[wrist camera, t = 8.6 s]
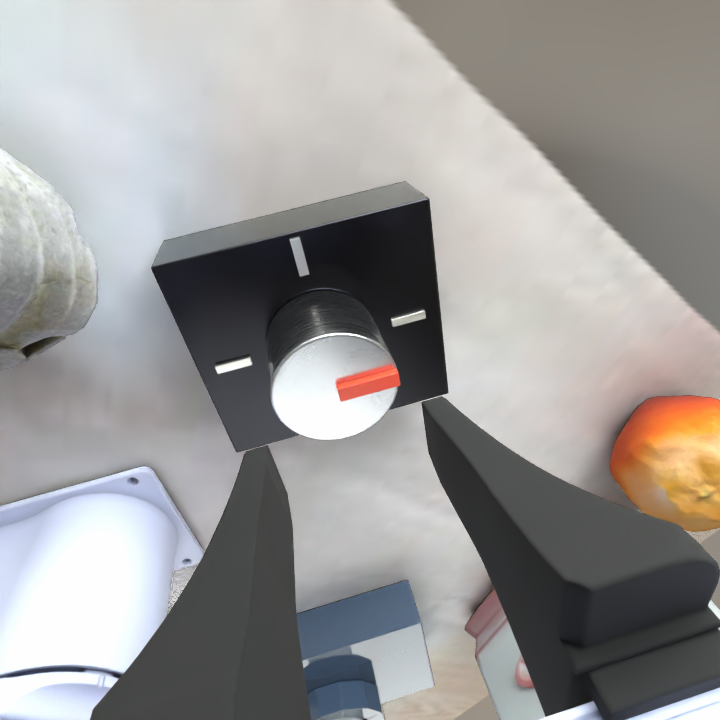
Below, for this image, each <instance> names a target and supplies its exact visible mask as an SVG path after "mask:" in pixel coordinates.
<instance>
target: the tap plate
mask: <svg viewBox="0 0 720 720" xmlns="http://www.w3.org/2000/svg"><path fill="white" fill-rule="evenodd" d="M151 270H152V272H153V274H154V276H155V278H156V280H157V283H158V285H159V287H160V289H161V291H162V293H163V295H164V298H165V300H166V302H167V304H168V306H169V308H170V311H171V313H172V315H173V317H174V319H175V321H176V323H177V326H178V328H179V330H180V332H181V334H182V336H183V339H184V341H185V343H186V345H187V347H188V349H189V351H190V354H191V356H192V358H193V360H194V362H195V364H196V367H197V369H198V371H199V373H200V375H201V377H202V379H203V382H204V384H205V386H206V388H207V390H208V392H209V395H210V397H211V399H212V401H213V403H214V405H215V408H216V410H217V412H218V414H219V416H220V418H221V420H222V423H223V425H224V427H225V429H226V431H227V433H228V436H229V438H230V440H231V442H232V444H233V446H234V448H235V451H236V452H241V451H244V450H248V449H251V448H255V447H259V446H262V445H266V444H269V443H273V442H276V441H280V440H283V439H287V438H291V437H294V436H298V435H300V434H297V433H296V432H294V431H292V430H291V429H289V428H288V427H287V426H286V425H284V423H283V422H282V421H281V420H280V419H279V418H278V416H277V415H276V413H275V411H274V409H273V407H272V403H271V398H270V387H269V374H268V361H267V347H266V338H267V332H268V329H269V326H270V324H271V322H272V320H273V318H274V317H275V315H276V314H277V313H278V311H279V310H280V309H281V308H282V307H283V306H285V305H286V304H287V303H288V302H290V301H291V300H293V299H295V298H296V297H299V296H301V295H303V294H306V293H310V292H315V291H335V292H340V293H343V294H347V295H349V296H351V297H353V298H354V299H356V300H358V301H359V302H360V303H361V304H362V305H364V306H365V308H366V309H367V310H368V311H369V313H370V314H371V316H372V318H373V320H374V322H375V324H376V326H377V328H378V330H379V332H380V334H381V336H382V338H383V340H384V342H385V344H386V346H387V348H388V350H389V352H390V354H391V356H392V358H393V360H394V362H395V364H396V367H397V371H398V373H399V379H400V386H398V389H397V393H396V396H395V399H394V401H393V403H392V405H391V407H390V408H389V410H390V409H394V408H397V407H401V406H404V405H408V404H411V403H415V402H419V401H422V400H426V399H429V398H433V397H436V396H440V395H443V394H447V393H448V383H447V373H446V363H445V353H444V343H443V332H442V322H441V312H440V302H439V292H438V282H437V272H436V262H435V251H434V241H433V231H432V221H431V211H430V201H429V198H428V197H426V196H425V195H424V194H422V193H421V192H420V191H418V190H417V189H415V188H414V187H413V186H411V185H410V184H409V183H407V182H406V181H404V182H400V183H396V184H392V185H388V186H384V187H380V188H375V189H371V190H367V191H363V192H359V193H355V194H351V195H347V196H343V197H339V198H335V199H331V200H327V201H323V202H319V203H315V204H310V205H306V206H302V207H298V208H294V209H290V210H286V211H282V212H278V213H274V214H270V215H266V216H262V217H258V218H254V219H250V220H246V221H241V222H237V223H233V224H229V225H225V226H221V227H217V228H213V229H209V230H205V231H201V232H197V233H193V234H189V235H185V236H181V237H177V238H172V239H168V240H164V241H163V243H162V245H161V247H160V249H159V252H158V254H157V256H156V258H155V260H154V262H153V265H152V267H151Z"/></svg>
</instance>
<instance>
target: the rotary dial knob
mask: <svg viewBox="0 0 720 720" xmlns="http://www.w3.org/2000/svg"><path fill="white" fill-rule="evenodd" d="M266 347H267V361H268V374H269V387H270V398H271V403H272V407H273V409H274V411H275V413H276V415H277V416H278V418H279V419H280V420H281V421H282V422H283V423H284V425H286V426H287V427H288V428H289V429H291V430H292V431H294V432H296V433H297V434H300V435H302V436H305V437H308V438H312V439H317V440H337V439H343V438H347V437H351V436H354V435H356V434H359V433H361V432H363V431H365V430H367V429H368V428H370V427H371V426H373V425H374V424H376V423H377V422H378V421H379V420H380V419H381V418H382V417H383V416H384V415H385V414H386V413H387V411H388V410H389V408H390V407H391V405H392V403H393V401H394V399H395V396H396V393H397V389H398V386H400V379H399V373H398V371H397V367H396V364H395V362H394V360H393V358H392V356H391V354H390V352H389V350H388V348H387V346H386V344H385V342H384V340H383V338H382V336H381V334H380V332H379V330H378V328H377V326H376V324H375V322H374V320H373V318H372V316H371V314H370V313H369V311H368V310H367V309H366V308H365V306H364V305H362V304H361V303H360V302H359V301H358V300H356V299H354V298H353V297H351V296H349V295H347V294H343V293H340V292H335V291H315V292H310V293H306V294H303V295H301V296H299V297H296V298H295V299H293V300H291V301H290V302H288V303H287V304H286V305H285V306H283V307H282V308H281V309H280V310H279V311H278V313H277V314H276V315H275V317H274V318H273V320H272V322H271V324H270V326H269V329H268V332H267V338H266Z"/></svg>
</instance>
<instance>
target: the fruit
mask: <svg viewBox="0 0 720 720" xmlns="http://www.w3.org/2000/svg"><path fill="white" fill-rule="evenodd" d="M610 472H611V475H612V476H613V478H614V479H615V481H616V482H617V483H618V484H619V485H620V487H621V488H622V489H623V491H624V492H625V494H626V495H627V497H628V498H629V499H630V500H631V501H632V502H633V503H634V504H635V505H636V506H637V507H638V508H639V509H640V510H641V511H642V512H643V513H644V514H646V515H650V516H653V517H656V518H659V519H662V520H665V521H668V522H671V523H675V524H678V525H679V526H680V527H681V528H682V529H684V530H687V531H691V532H697V531H707V530H711V529H715V528H720V400H718V399H715V398H710V397H700V396H691V395H685V396H662V397H653V398H649V399H647V400H646V401H644V402H643V403H642V404H641V405H639V406H638V407H637V408H636V410H635V411H634V412H633V413H632V415H631V416H630V418H629V420H628V421H627V423H626V425H625V426H624V428H623V429H622V431H621V433H620V434H619V436H618V437H617V439H616V441H615V444H614V447H613V451H612V454H611V459H610Z"/></svg>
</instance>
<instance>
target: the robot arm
mask: <svg viewBox="0 0 720 720" xmlns="http://www.w3.org/2000/svg"><path fill="white" fill-rule="evenodd" d="M422 410H423V417H424V424H425V431H426V438H427V445H428V452H429V455H430V457H431V460H432V462H433V465H434V467H435V470H436V472H437V475H438V477H439V480H440V482H441V484H442V486H443V488H444V490H445V492H446V494H447V495H448V497H449V499H450V501H451V503H452V505H453V507H454V508H455V510H456V512H457V514H458V516H459V518H460V519H461V521H462V523H463V525H464V527H465V529H466V530H467V532H468V534H469V536H470V538H471V540H472V541H473V543H474V545H475V547H476V549H477V551H478V553H479V555H480V557H481V559H482V561H483V563H484V565H485V568H486V570H487V572H488V575H489V577H490V579H491V582H492V584H493V586H494V589H495V591H496V594H497V596H498V598H499V601H500V603H501V606H502V608H503V610H504V613H505V615H506V618H507V620H508V622H509V625H510V627H511V630H512V632H513V635H514V637H515V640H516V642H517V645H518V647H519V650H520V652H521V655H522V657H523V660H524V662H525V665H526V667H527V670H528V673H529V675H530V678H531V680H532V683H533V686H534V688H535V691H536V693H537V696H538V699H539V701H540V704H541V706H542V709H543V712H544V714H545V718H542V719H539V720H720V630H719V629H718V628H720V619H719V618H718V617H717V616H716V615H715V613H714V612H713V611H712V610H711V609H710V608H709V606H708V604H709V602H710V600H711V597H712V595H713V593H714V591H715V588H716V586H717V584H718V579H719V576H720V569H719V566H718V563H717V562H716V561H715V560H714V559H713V558H712V557H711V556H710V555H709V554H708V553H707V552H706V551H705V549H703V547H702V546H701V545H700V544H699V543H698V542H697V541H696V540H695V539H694V538H693V537H691V536H690V535H689V534H688V533H687V532H686V531H684V530H683V529H682V528H681V527H680V526H679V525H678V524H675V523H671V522H668V521H665V520H662V519H659V518H656V517H653V516H650V515H646V514H643V513H640V512H637V511H634V510H631V509H628V508H626V507H623V506H621V505H618V504H615V503H613V502H610V501H608V500H605V499H603V498H600V497H598V496H596V495H593V494H591V493H589V492H587V491H585V490H582V489H580V488H578V487H576V486H573V485H571V484H569V483H567V482H565V481H563V480H561V479H559V478H557V477H555V476H553V475H551V474H550V473H548V472H546V471H544V470H543V469H541V468H539V467H537V466H535V465H534V464H532V463H530V462H529V461H527V460H526V459H524V458H522V457H521V456H519V455H518V454H516V453H515V452H513V451H512V450H510V449H509V448H507V447H506V446H504V445H503V444H501V443H500V442H499V441H497V440H496V439H494V438H493V437H492V436H490V435H489V434H488V433H486V432H485V431H484V430H482V429H481V428H480V427H478V426H477V425H476V424H475V423H473V422H472V421H471V420H470V419H469V418H467V417H466V416H465V415H464V414H462V413H461V412H460V411H459V410H458V409H457V408H456V407H454V406H453V405H452V404H451V403H450V402H449V401H448V400H447V399H445V398H444V397H442V396H441V397H438V398H434V399H431V400H427V401H423V402H422ZM131 478H136V480H133V479H131ZM198 563H199V564H198ZM195 564H198V566H197V568H196V570H195V571H194V573H193V575H192V577H191V578H190V580H189V582H188V584H187V585H186V587H185V588H184V590H183V592H182V593H181V595H180V596H179V598H178V600H177V601H176V603H175V604H174V606H173V607H172V609H171V610H170V612H169V613H168V615H167V610H168V603H169V596H170V589H171V582H172V575H173V571H174V570H178V569H181V568H184V567H188V566H191V565H195ZM0 720H311V715H310V708H309V702H308V696H307V689H306V682H305V675H304V668H303V661H302V654H301V647H300V639H299V632H298V625H297V615H296V602H295V575H294V549H293V526H292V520H291V513H290V507H289V501H288V495H287V491H286V489H285V487H284V484H283V482H282V479H281V477H280V474H279V472H278V469H277V467H276V464H275V462H274V459H273V457H272V455H271V452H270V450H269V447H268V445H267V446H264V447H260V448H256V449H253V450H249V451H246V453H245V454H244V457H243V460H242V463H241V466H240V470H239V473H238V476H237V478H236V481H235V484H234V487H233V490H232V492H231V495H230V497H229V500H228V502H227V505H226V507H225V510H224V512H223V515H222V517H221V519H220V522H219V524H218V526H217V528H216V530H215V532H214V534H213V537H212V539H211V541H210V543H209V545H208V547H207V549H206V551H205V553H204V551H203V549H202V548H201V546H200V545H199V543H198V541H197V540H196V538H195V537H194V535H193V533H192V532H191V530H190V528H189V527H188V525H187V524H186V522H185V520H184V519H183V517H182V516H181V514H180V512H179V511H178V509H177V508H176V506H175V504H174V503H173V501H172V500H171V498H170V496H169V495H168V493H167V491H166V490H165V488H164V487H163V485H162V483H161V482H160V480H159V479H158V477H157V475H156V474H155V472H154V471H153V470H152V469H151V468H149V467H139V468H135V469H131V470H128V471H124V472H121V473H117V474H113V475H110V476H106V477H103V478H99V479H96V480H92V481H88V482H85V483H81V484H78V485H74V486H71V487H67V488H63V489H60V490H56V491H53V492H49V493H45V494H42V495H38V496H35V497H31V498H28V499H24V500H20V501H17V502H13V503H10V504H6V505H3V506H0Z"/></svg>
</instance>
